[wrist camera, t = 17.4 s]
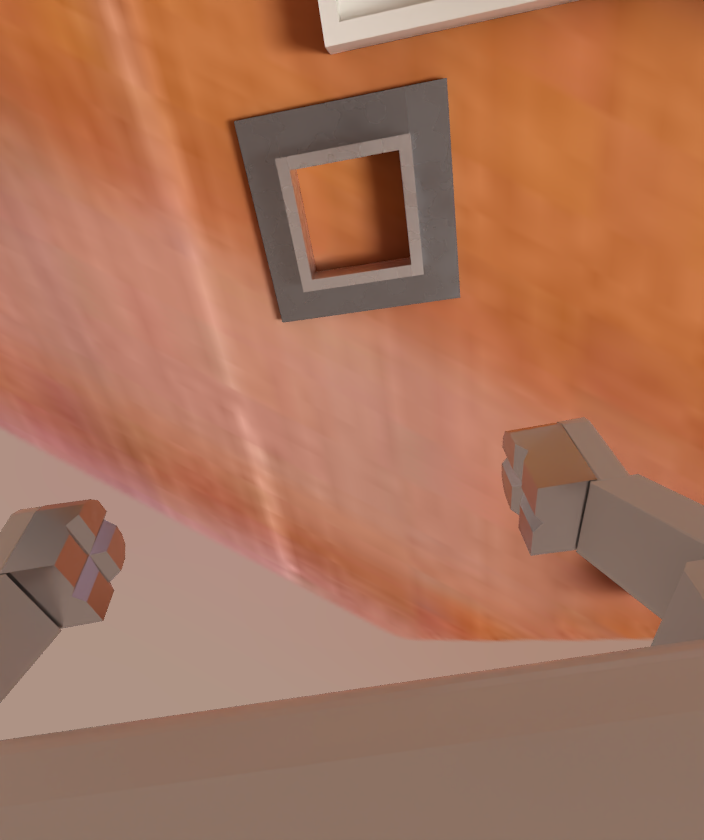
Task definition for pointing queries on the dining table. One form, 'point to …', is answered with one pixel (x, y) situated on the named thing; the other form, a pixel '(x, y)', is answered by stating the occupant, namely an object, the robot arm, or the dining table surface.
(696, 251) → the dining table surface
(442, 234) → the steel collar
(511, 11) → the tray
